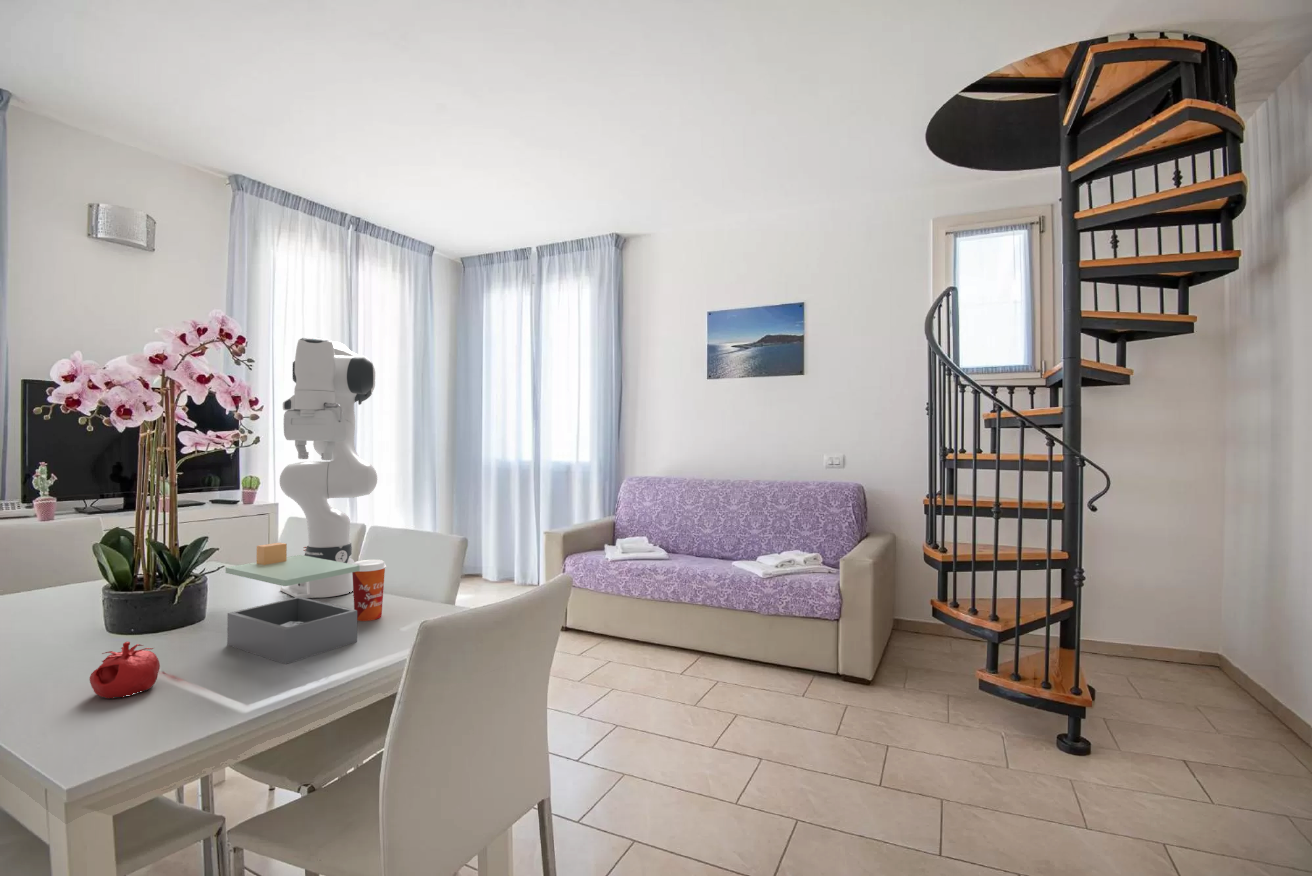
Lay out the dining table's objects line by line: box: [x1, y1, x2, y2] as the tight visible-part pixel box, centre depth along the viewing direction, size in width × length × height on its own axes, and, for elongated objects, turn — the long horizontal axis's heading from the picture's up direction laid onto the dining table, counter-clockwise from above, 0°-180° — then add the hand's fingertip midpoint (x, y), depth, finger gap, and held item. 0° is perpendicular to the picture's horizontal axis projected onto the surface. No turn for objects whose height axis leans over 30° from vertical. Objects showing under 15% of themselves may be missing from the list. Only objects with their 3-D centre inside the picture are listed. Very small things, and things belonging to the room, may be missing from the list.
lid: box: [224, 542, 360, 587], centre depth 138 cm, size 23×17×5 cm
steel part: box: [280, 621, 306, 627], centre depth 142 cm, size 4×4×3 cm
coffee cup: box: [352, 559, 387, 622], centre depth 158 cm, size 8×8×15 cm
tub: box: [226, 597, 358, 665], centre depth 138 cm, size 22×16×8 cm
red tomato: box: [89, 641, 161, 699], centre depth 115 cm, size 10×10×9 cm
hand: (314, 459), depth 153 cm, fingers open, 8 cm apart
